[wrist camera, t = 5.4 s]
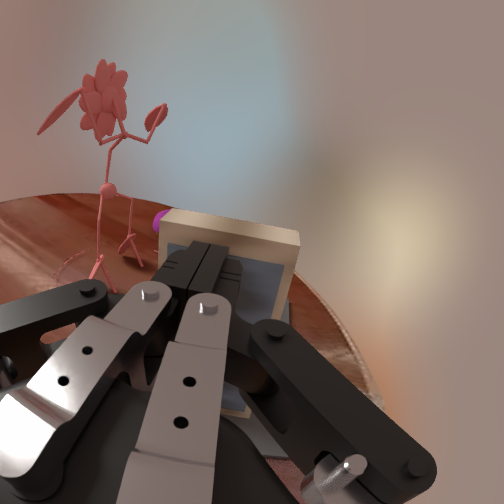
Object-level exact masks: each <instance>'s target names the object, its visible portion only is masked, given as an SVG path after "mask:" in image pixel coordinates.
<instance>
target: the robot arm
mask: <svg viewBox="0 0 504 504" xmlns="http://www.w3.org/2000/svg"><path fill="white" fill-rule="evenodd" d="M228 256H229V247H228V246H222V245H217V244H211V243H206V242H200V241H195V240H193V242H192V243H191V244H190V246H189V247H188V249H187V250H180V249H179V250H177V251H175V252H173V253H171V254H170V255H169V256H168V258H167V259H166V261H165V262H164V263H163V264H162V267H160V268H159V270H158V271H157V272H156V274H155V275H154V276H153V278H152V279H151V281H145V282H141V283H138V284H136V285H135V286H133V287H132V288H131V289H130V290H129V292H128V293H127V294H126V295H118V294H108V292H107V287H106V285H105V284H104V283H103V282H101V281H99V280H96V279H85V280H81V281H77V282H74V283H70V284H67V285H64V286H60V287H57V288H54V289H51V290H47V291H44V292H41V293H37V294H34V295H31V296H28V297H24V298H21V299H18V300H15V301H12V302H8V303H5V304H2V305H0V504H299V502H298V501H297V500H296V499H295V498H294V496H293V495H292V494H291V493H290V491H289V490H288V489H287V488H286V486H285V485H284V484H283V483H282V481H281V480H280V479H279V477H278V476H277V475H276V474H275V472H274V471H273V470H272V468H271V467H270V466H269V464H268V463H267V462H266V460H265V459H264V457H263V456H262V455H261V453H260V452H259V450H258V449H257V448H256V446H255V445H254V443H253V442H252V441H251V439H250V438H249V437H248V436H247V435H246V433H245V432H244V431H243V430H242V429H240V428H239V427H238V426H237V425H236V424H234V423H233V422H231V421H230V420H228V419H227V418H225V417H223V416H221V415H220V408H221V399H222V390H223V381H225V382H227V383H229V384H232V385H234V386H236V387H238V391H239V394H240V396H241V397H242V399H243V400H244V401H245V403H246V404H247V405H248V407H249V408H250V409H251V411H252V412H253V413H254V415H255V416H256V417H257V418H258V420H259V421H260V422H261V424H262V425H263V426H264V427H265V429H266V430H267V431H268V432H269V434H270V435H271V436H272V437H273V439H274V440H275V441H276V442H277V443H278V445H279V446H280V447H281V448H282V449H283V451H284V452H285V453H286V454H287V455H288V457H289V458H290V459H291V460H292V461H293V462H294V464H295V465H296V466H297V467H298V468H299V469H300V470H301V471H302V473H303V474H304V475H305V477H304V479H303V481H302V483H301V495H302V498H303V499H304V501H305V502H306V504H403V503H405V502H407V501H409V500H411V499H412V498H414V497H416V496H418V495H419V494H421V493H423V492H424V491H426V490H427V489H429V488H430V487H431V486H432V484H433V483H434V481H435V478H436V475H437V467H436V463H435V460H434V458H433V457H432V455H431V454H430V453H429V452H428V451H427V450H425V449H424V448H423V447H422V446H421V445H420V444H419V443H417V442H416V441H415V440H414V439H413V438H412V437H410V436H409V435H408V434H407V433H406V432H405V431H404V430H403V429H402V428H400V427H399V426H398V425H397V424H396V423H395V422H394V421H393V420H391V419H390V418H389V417H388V416H387V415H386V414H385V413H384V412H383V411H381V410H380V409H379V408H378V407H377V406H376V405H375V404H374V403H373V402H372V401H370V400H369V399H368V398H367V397H366V396H365V395H364V394H363V393H362V392H361V391H360V390H358V389H357V388H356V387H355V386H354V385H353V384H352V383H351V382H350V381H349V380H348V379H347V378H345V377H344V376H343V375H342V374H341V373H340V372H339V371H338V370H337V369H336V368H335V367H334V366H333V365H332V364H331V363H329V362H328V361H327V360H326V359H325V358H324V357H323V356H322V355H321V354H320V353H319V352H318V351H317V350H316V349H315V348H314V347H313V346H311V345H310V344H309V343H308V342H307V341H306V340H305V339H304V338H303V337H302V336H301V335H300V334H299V333H298V332H297V331H296V330H295V329H294V328H293V327H291V326H290V325H289V324H287V323H285V322H283V321H280V320H276V319H263V320H260V321H258V322H256V323H255V324H254V325H253V324H251V323H248V322H246V321H245V320H243V319H241V318H240V317H239V316H238V315H237V314H236V312H235V309H236V304H237V300H238V295H239V289H240V282H241V276H242V270H243V267H242V265H241V263H240V261H239V260H234V259H228ZM72 323H75V324H76V329H75V331H74V332H73V333H72V334H71V335H70V336H69V337H68V338H65V339H63V340H60V341H57V342H54V343H51V344H44V343H42V342H41V341H40V338H41V336H42V335H43V334H44V333H46V332H49V331H52V330H55V329H58V328H61V327H63V326H66V325H69V324H72Z"/></svg>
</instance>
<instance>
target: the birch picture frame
mask: <svg viewBox="0 0 504 504" xmlns="http://www.w3.org/2000/svg"><path fill="white" fill-rule="evenodd" d="M193 240H195V241H200V242H206V243H211V244H217V245H222V246H228V247H229V256H228V259H234V260H239V261H240V263H241V265H242V267H243V270H242V276H241V282H240V289H239V295H238V300H237V304H236V309H235V312H236V314H237V315H238V316H239V317H240V318H241V319H243V320H245V321H246V322H248V323H251V324H253V325H254V324H255V323H256V322H258V321H260V320H263V319H276V320H280V319H281V315H282V312H283V308H284V305H285V301H286V298H287V294H288V291H289V287H290V283H291V280H292V276H293V272H294V269H295V265H296V261H297V257H298V254H299V250H300V240H299V233H298V231H294V230H289V229H285V228H280V227H274V226H269V225H264V224H258V223H253V222H248V221H242V220H237V219H231V218H226V217H221V216H215V215H209V214H203V213H198V212H192V211H186V210H180V209H174V208H172V209H171V210H170V211H169V212H168V213H167V214H166V215H164V216H163V217H162V218H161V219H160V221H159V255H158V270H159V268H160V267H162V264H163V263H164V262H165V261H166V259H167V258H168V256H169V255H170V254H171V253H173V252H175V251H177V250H179V249H180V250H187V249H188V247H189V246H190V244H191V243H192V242H193ZM220 414H225V415H230V416H236V417H242V418H248V419H249V417H250V414H251V409H250V408H249V407H248V405H247V404H246V403H245V401H244V400H243V399H242V397H241V396H240V394H239V391H238V387H236V386H234V385H232V384H229V383H227V382H225V381H223V390H222V399H221V408H220Z"/></svg>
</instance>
